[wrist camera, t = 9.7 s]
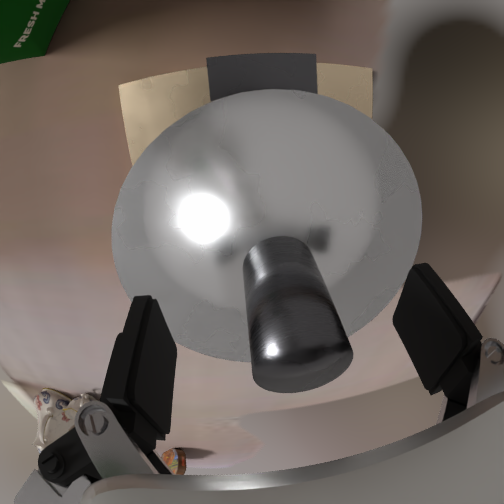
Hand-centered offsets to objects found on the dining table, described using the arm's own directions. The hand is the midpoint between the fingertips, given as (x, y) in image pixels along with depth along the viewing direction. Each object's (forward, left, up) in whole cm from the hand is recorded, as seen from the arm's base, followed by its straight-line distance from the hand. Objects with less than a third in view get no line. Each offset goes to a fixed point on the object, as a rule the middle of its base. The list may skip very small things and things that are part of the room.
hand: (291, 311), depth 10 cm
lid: (0, 0, -4) cm, 4 cm away
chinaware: (+41, -41, -14) cm, 60 cm away
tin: (+70, -27, -14) cm, 76 cm away
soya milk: (-19, -17, -14) cm, 29 cm away
